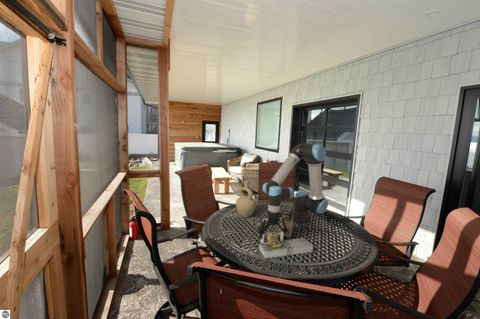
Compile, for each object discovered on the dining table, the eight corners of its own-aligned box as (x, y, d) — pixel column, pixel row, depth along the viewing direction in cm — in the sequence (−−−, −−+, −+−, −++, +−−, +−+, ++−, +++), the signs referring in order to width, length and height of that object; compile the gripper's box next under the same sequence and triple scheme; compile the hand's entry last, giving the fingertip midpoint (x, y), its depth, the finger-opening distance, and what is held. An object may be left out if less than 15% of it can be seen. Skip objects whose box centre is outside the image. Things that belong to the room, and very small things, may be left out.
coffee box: (277, 234, 158) (279, 212, 156) (279, 231, 164) (280, 209, 162) (290, 237, 155) (292, 214, 153) (292, 233, 161) (293, 211, 159)
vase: (231, 215, 191) (232, 180, 187) (245, 210, 202) (247, 178, 198) (244, 221, 179) (246, 184, 175) (259, 216, 190) (261, 181, 186)
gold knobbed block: (273, 240, 150) (274, 231, 149) (277, 244, 145) (277, 234, 144) (266, 241, 148) (267, 231, 148) (270, 244, 144) (270, 235, 143)
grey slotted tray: (303, 243, 147) (303, 237, 146) (312, 251, 137) (313, 245, 137) (258, 249, 138) (259, 243, 137) (265, 258, 128) (265, 251, 128)
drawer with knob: (276, 249, 139) (277, 239, 138) (280, 253, 134) (280, 243, 133) (268, 250, 137) (269, 240, 136) (272, 254, 132) (273, 244, 131)
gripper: (288, 207, 151) (286, 237, 154) (253, 209, 144) (251, 241, 147) (294, 211, 144) (292, 243, 147) (257, 214, 137) (256, 247, 140)
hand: (271, 242), depth 147 cm, fingers open, 13 cm apart
